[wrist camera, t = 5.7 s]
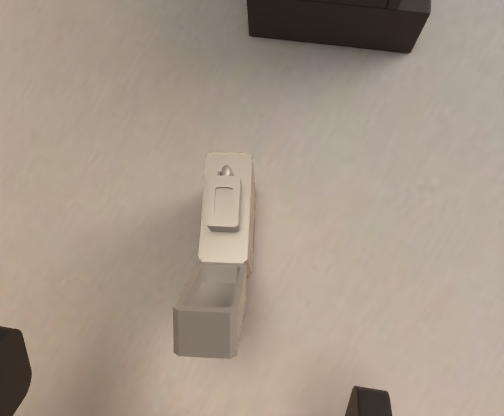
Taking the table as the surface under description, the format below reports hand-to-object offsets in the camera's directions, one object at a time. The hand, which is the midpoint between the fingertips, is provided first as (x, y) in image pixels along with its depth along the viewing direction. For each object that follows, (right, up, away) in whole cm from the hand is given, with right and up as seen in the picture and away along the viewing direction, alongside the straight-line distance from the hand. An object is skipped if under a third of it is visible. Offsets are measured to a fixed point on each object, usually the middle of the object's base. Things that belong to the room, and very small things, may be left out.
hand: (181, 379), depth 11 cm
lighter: (+1, +2, +10) cm, 10 cm away
